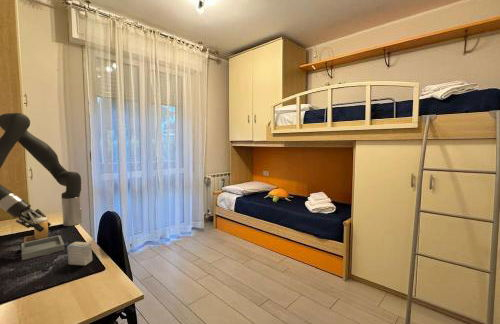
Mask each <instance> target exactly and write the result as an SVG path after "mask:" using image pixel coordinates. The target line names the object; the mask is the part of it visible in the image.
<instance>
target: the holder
mask: <svg viewBox="0 0 500 324" xmlns="http://www.w3.org/2000/svg"><path fill="white" fill-rule="evenodd" d="M45 238H49V236H48V237H45ZM42 239H44V238H42ZM35 240H36V239H35V234H33V235H29V236H24V237H23V243H25V242H30V241H35ZM37 240H40V239H37Z"/></svg>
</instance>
